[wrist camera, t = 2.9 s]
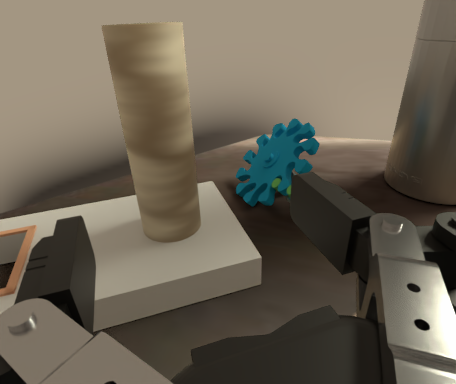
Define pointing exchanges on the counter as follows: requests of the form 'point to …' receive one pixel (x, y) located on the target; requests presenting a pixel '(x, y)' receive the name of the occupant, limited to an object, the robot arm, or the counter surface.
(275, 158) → the gear
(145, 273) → the white peg hole board
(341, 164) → the counter surface
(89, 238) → the robot arm
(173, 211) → the peg
